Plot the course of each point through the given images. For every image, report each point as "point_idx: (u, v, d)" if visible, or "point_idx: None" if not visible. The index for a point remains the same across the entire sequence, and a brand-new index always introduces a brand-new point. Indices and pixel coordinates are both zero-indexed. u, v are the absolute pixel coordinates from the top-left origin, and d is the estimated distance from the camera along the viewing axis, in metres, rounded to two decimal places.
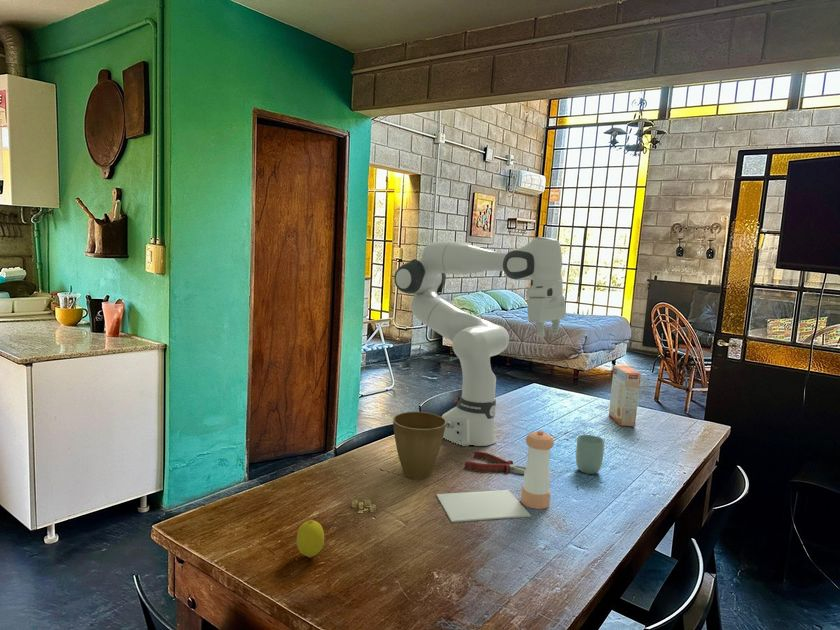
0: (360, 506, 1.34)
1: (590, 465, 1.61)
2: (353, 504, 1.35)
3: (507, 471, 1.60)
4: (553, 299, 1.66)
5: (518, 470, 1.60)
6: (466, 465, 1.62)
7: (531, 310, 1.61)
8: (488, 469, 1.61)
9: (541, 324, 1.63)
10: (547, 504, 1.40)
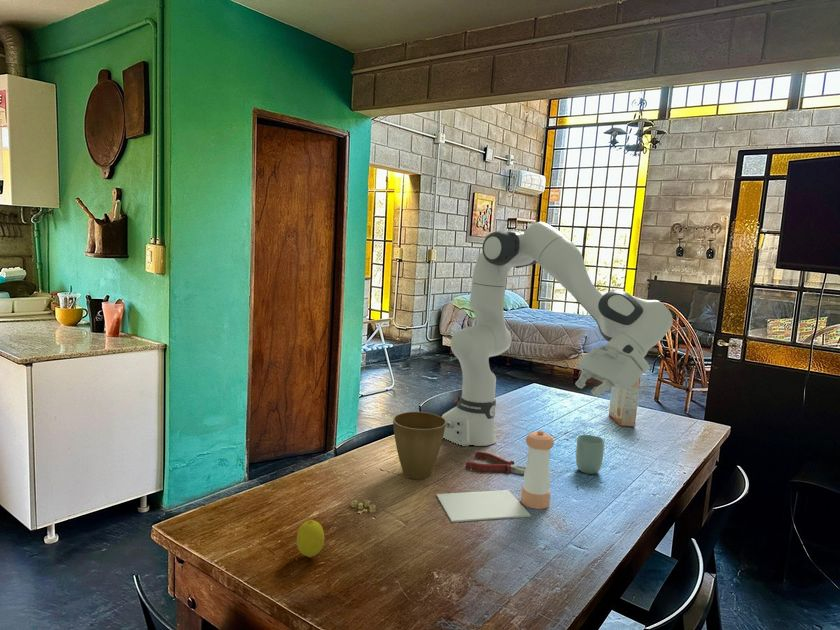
0: (359, 506, 1.34)
1: (590, 465, 1.61)
2: (352, 504, 1.35)
3: (508, 471, 1.60)
4: None
5: (519, 470, 1.60)
6: (467, 465, 1.62)
7: (629, 374, 1.32)
8: (489, 469, 1.60)
9: (610, 387, 1.36)
10: (547, 504, 1.40)
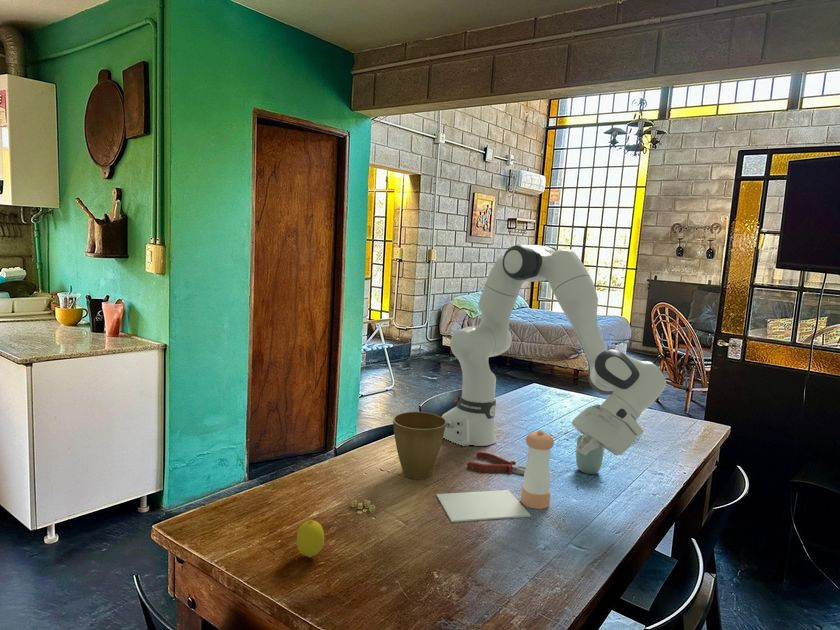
0: (359, 507, 1.34)
1: (590, 465, 1.61)
2: (352, 504, 1.35)
3: (510, 472, 1.60)
4: None
5: (521, 471, 1.60)
6: (469, 466, 1.62)
7: (622, 440, 1.34)
8: (491, 470, 1.60)
9: (597, 446, 1.42)
10: (547, 504, 1.40)
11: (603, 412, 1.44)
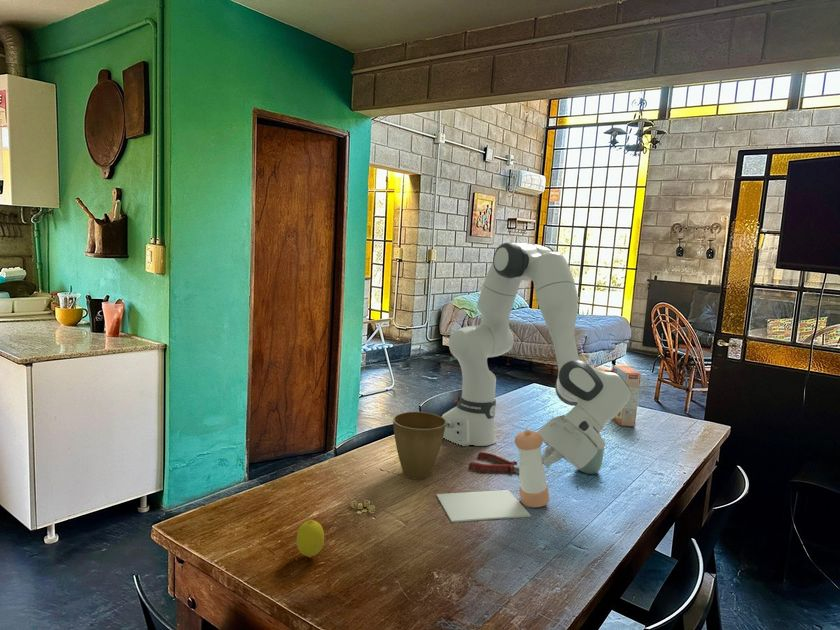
0: (359, 507, 1.34)
1: (590, 465, 1.61)
2: (352, 505, 1.35)
3: (511, 472, 1.60)
4: None
5: None
6: (470, 466, 1.62)
7: (583, 453, 1.33)
8: (492, 470, 1.60)
9: (560, 458, 1.40)
10: (546, 500, 1.40)
11: (566, 424, 1.42)
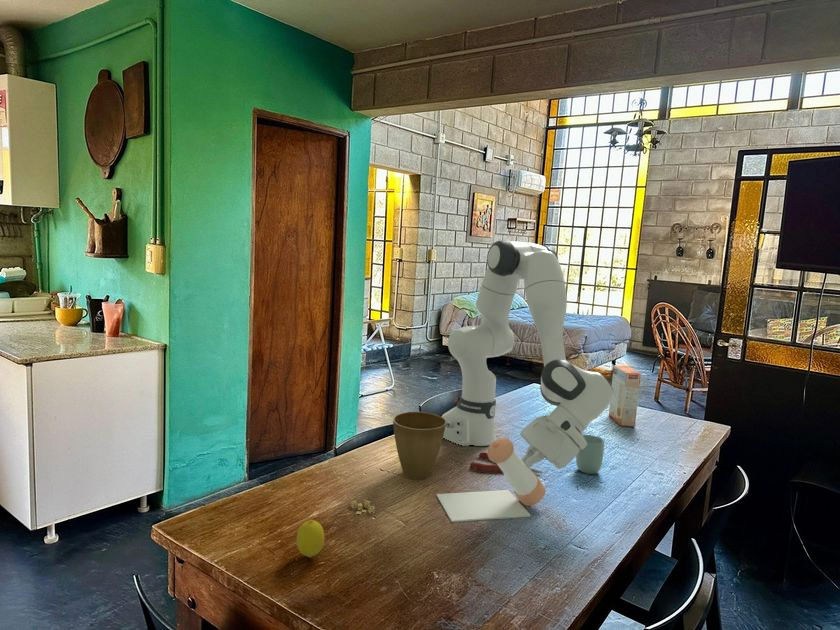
0: (359, 507, 1.34)
1: (590, 465, 1.61)
2: (352, 505, 1.35)
3: None
4: None
5: None
6: (471, 466, 1.62)
7: (565, 453, 1.31)
8: (493, 470, 1.60)
9: (542, 458, 1.38)
10: (542, 493, 1.39)
11: (549, 423, 1.41)
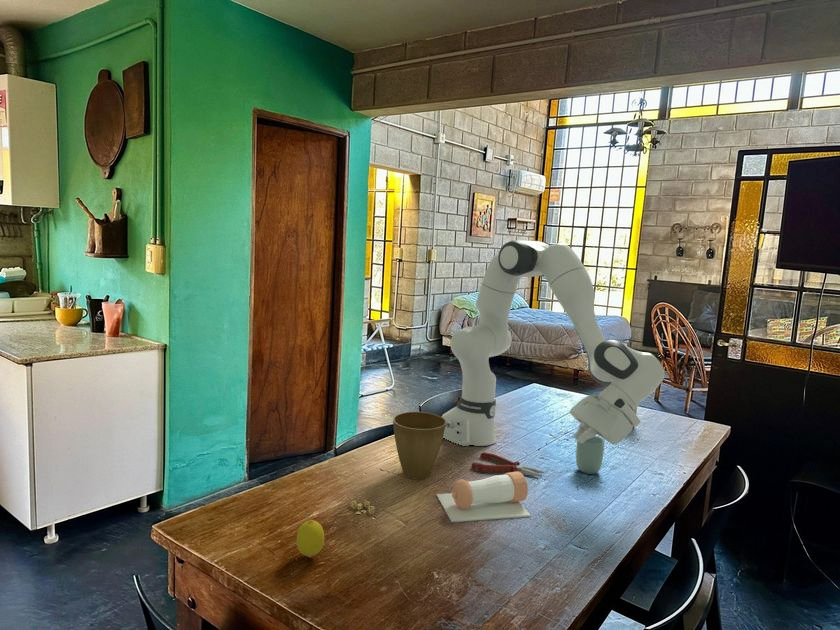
0: (358, 507, 1.34)
1: (590, 465, 1.61)
2: (352, 505, 1.34)
3: None
4: None
5: (525, 471, 1.60)
6: (473, 466, 1.61)
7: (619, 429, 1.36)
8: (495, 470, 1.60)
9: (594, 434, 1.43)
10: (522, 479, 1.40)
11: (601, 401, 1.45)
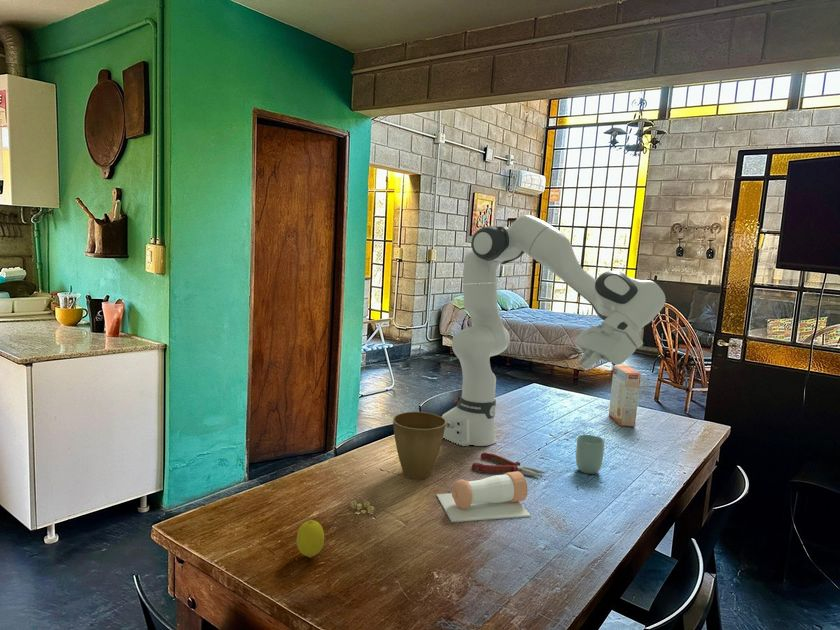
0: (358, 507, 1.33)
1: (590, 465, 1.61)
2: (352, 505, 1.34)
3: None
4: None
5: (526, 471, 1.59)
6: (473, 467, 1.61)
7: (623, 349, 1.40)
8: (495, 471, 1.60)
9: (599, 359, 1.47)
10: (521, 478, 1.40)
11: (604, 328, 1.49)
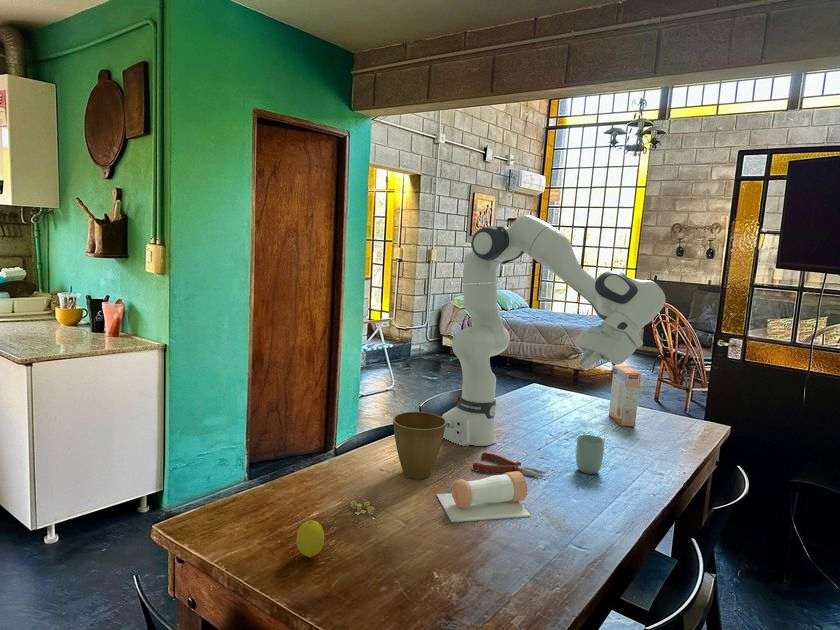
0: (358, 507, 1.33)
1: (590, 465, 1.61)
2: (352, 505, 1.34)
3: None
4: None
5: (526, 472, 1.59)
6: (474, 467, 1.61)
7: (623, 349, 1.40)
8: (496, 471, 1.60)
9: (599, 359, 1.47)
10: (521, 478, 1.40)
11: (604, 328, 1.49)
